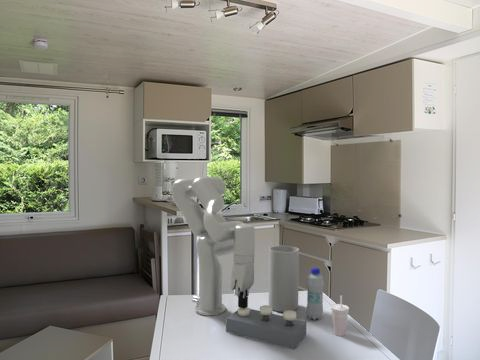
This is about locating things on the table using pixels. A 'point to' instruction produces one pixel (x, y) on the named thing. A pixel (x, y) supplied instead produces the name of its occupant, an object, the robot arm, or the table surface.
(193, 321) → the table surface
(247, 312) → the knob
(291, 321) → the knob
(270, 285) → the cylinder vase
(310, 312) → the bottle
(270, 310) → the knob middle
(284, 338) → the control panel
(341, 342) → the table surface
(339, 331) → the smoothie
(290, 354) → the table surface
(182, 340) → the table surface
